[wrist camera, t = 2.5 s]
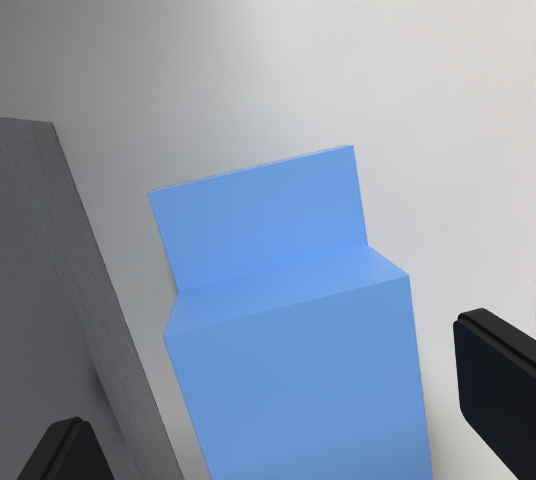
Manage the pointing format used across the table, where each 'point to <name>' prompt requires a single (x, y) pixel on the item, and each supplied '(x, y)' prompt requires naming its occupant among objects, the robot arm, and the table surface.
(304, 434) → the servo
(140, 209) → the table surface
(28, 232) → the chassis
